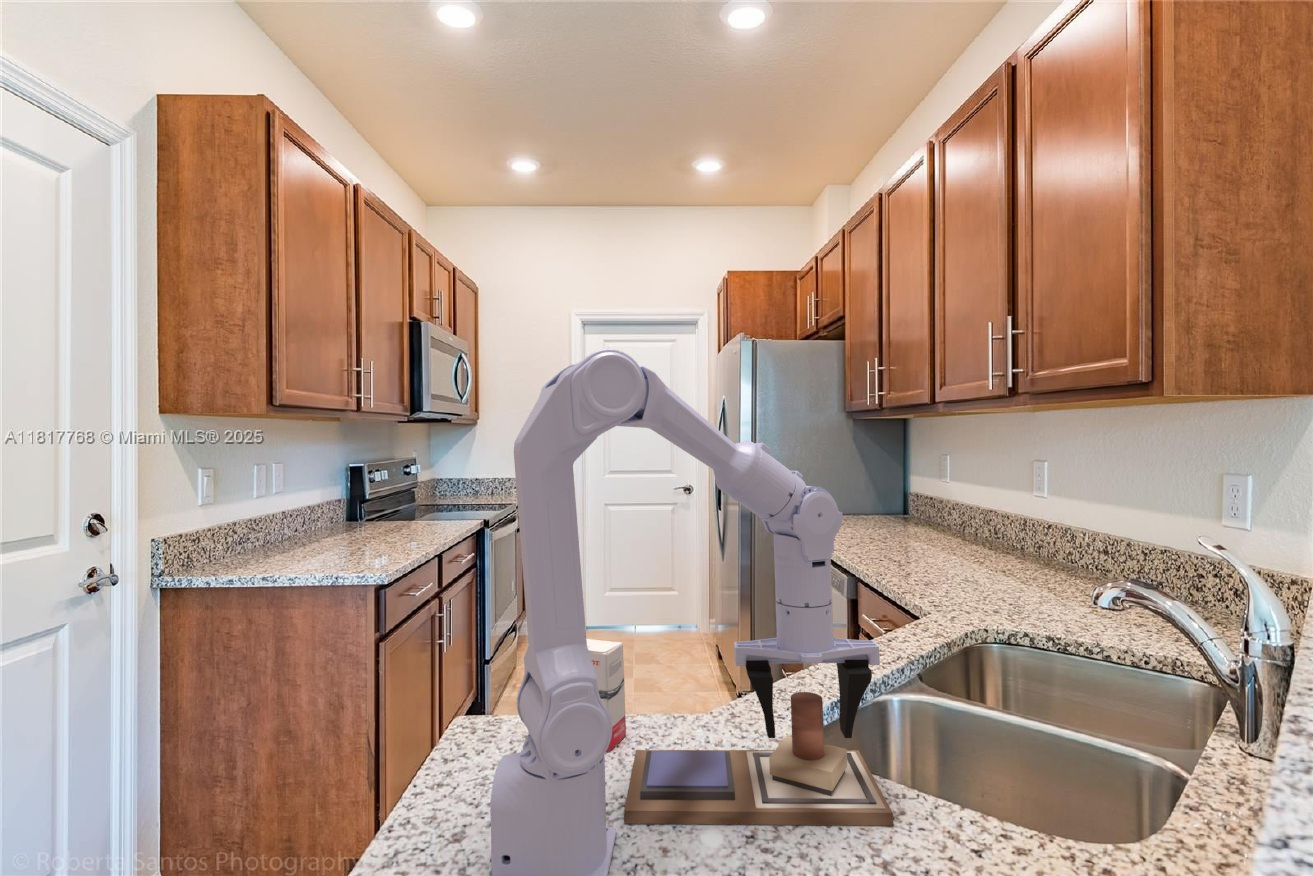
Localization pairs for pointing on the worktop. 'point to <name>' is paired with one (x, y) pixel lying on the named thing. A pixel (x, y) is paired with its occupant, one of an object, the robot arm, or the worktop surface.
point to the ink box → (610, 683)
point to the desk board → (744, 792)
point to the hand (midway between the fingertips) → (808, 734)
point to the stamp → (808, 750)
